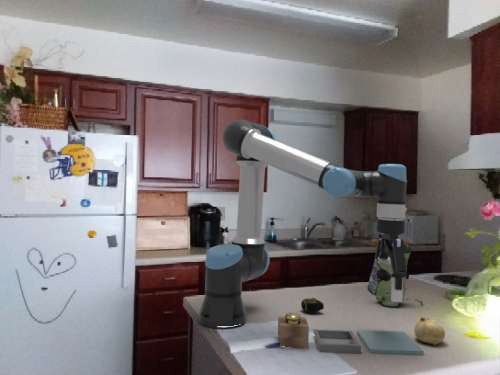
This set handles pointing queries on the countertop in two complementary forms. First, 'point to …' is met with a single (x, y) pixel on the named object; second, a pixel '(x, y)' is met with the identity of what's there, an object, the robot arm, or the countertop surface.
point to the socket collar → (337, 348)
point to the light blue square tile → (389, 342)
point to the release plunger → (293, 317)
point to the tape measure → (312, 305)
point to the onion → (429, 331)
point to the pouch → (387, 299)
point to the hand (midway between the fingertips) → (388, 294)
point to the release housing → (293, 333)
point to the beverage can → (380, 277)
